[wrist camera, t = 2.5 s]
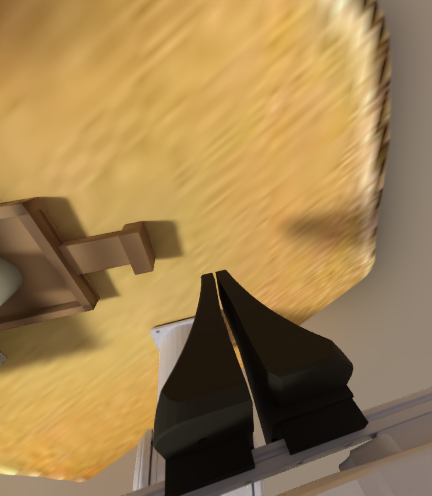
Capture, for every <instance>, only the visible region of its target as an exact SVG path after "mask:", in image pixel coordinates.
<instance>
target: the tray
mask: <svg viewBox="0 0 432 496" xmlns="http://www.w3.org/2000/svg"><path fill="white" fill-rule="evenodd" d="M0 258H2V259H4V260H6V261H8V262H10V263H11V264H13V265H14V266H15V267H16V268H17V269H18V270H19V271H20V273H21V275H22V278H23V283H22V286H21V287H20V288H19V289H18V290H17V291H16V292H15V293H14V294H13V295H12V296H11V297H10V298H9V299H8V300H7V301H6V302H5V303H3V304H2V305H1V306H0V331H1V330H5V329H10V328H14V327H19V326H23V325H28V324H32V323H37V322H41V321H46V320H50V319H54V318H59V317H63V316H68V315H72V314H77V313H81V312H86V311H90V310H94V308H95V306H96V304H97V302H98V300H99V298H100V297H99V295H98V293H97V292H96V290H95V289H94V287H93V285H92V284H91V282H90V281H89V279H88V277H87V276H86V274H85V273H90V272H95V271H100V270H104V269H109V268H114V267H119V266H124V265H129V264H131V266H132V269H133V271H134V273H135V275H137V274H142V273H147V272H152V271H153V269H154V263H155V255H154V252H153V249H152V246H151V243H150V240H149V238H148V235H147V232H146V229H145V226H144V223H143V221H142V222H136V223H131V224H126V225H124V227H123V229H122V230H121V231H117V232H111V233H106V234H101V235H95V236H90V237H84V238H79V239H74V240H69V241H65V240H64V239H63V237H62V235H61V234H60V232H59V231H58V229H57V227H56V226H55V224H54V223H53V221H52V219H51V218H50V216H49V214H48V213H47V211H46V210H45V208H44V206H43V205H42V203H41V202H40V200H39V198H38V197H34V198H28V199H22V200H16V201H10V202H4V203H0Z"/></svg>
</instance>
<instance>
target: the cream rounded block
mask: <svg viewBox="0 0 432 496" xmlns="http://www.w3.org/2000/svg"><path fill="white" fill-rule="evenodd" d="M22 283H23V278H22V275H21V273H20V271H19V270H18V269H17V268H16V267H15V266H14V265H13V264H11V263H10V262H8V261H6V260H4V259H2V258H0V306H1V305H2V304H3V303H5V302H6V301H7V300H8V299H9V298H10V297H11V296H12V295H13V294H14V293H15V292H16V291H17V290H18V289H19V288H20V287H21V286H22Z"/></svg>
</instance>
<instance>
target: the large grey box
mask: <svg viewBox="0 0 432 496" xmlns="http://www.w3.org/2000/svg"><path fill="white" fill-rule="evenodd" d="M6 358H7V357H6V356H4V355H3V354H2V353H1V352H0V366H1V365H2V364H3V362H4V361H5V360H6Z"/></svg>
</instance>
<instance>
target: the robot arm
mask: <svg viewBox="0 0 432 496" xmlns="http://www.w3.org/2000/svg"><path fill="white" fill-rule="evenodd" d="M216 278H217V284H218V291H219V296H220V300H221V304H222V307H223V311H224V313H225V316H226V318H227V321H228V323H229V326H230V328H231V331H232V333H233V336H234V338H235V341H236V343H237V346H238V349H239V352H240V355H241V358H242V362H243V365H244V368H245V371H246V375H247V378H248V382H249V385H250V389H251V392H252V395H253V399H254V403H255V406H256V410H257V413H258V417H259V420H260V424H261V428H262V431H263V435H264V438H265V442H266V445H264V446H261V447H258V446H257V443H256V439H255V436H254V434H253V432H254V423H253V403H252V400H251V396H250V393H249V390H248V386H247V383H246V381H245V378H244V375H243V373H242V370H241V367H240V365H239V362H238V359H237V357H236V354H235V351H234V348H233V345H232V342H231V338H230V335H229V334H228V331H227V328H226V325H225V322H224V319H223V314H222V312H221V309H220V305H219V300H218V294H217V289H216V283H215V279H214V276H213V274H212V273H209V274H204V275H202V276H201V292H200V298H199V303H198V307H197V311H196V315H195V317H194V318H190V319H186V320H182V321H178V322H174V323H170V324H166V325H162V326H159V327H155V328H152V329H151V330H150V334H151V336H152V338H153V340H154V342H155V344H156V346H157V348H158V350H159V352H160V357H159V376H158V396H157V409H156V415H155V422H154V433H153V428H150V429H147V430H146V431H145V434H144V435H143V436H142V438H141V439H140V441H139V445H138V451H137V458H136V466H135V475H134V484H133V492H130V493H127V494H125V495H121V496H263V495H264V479H265V478H268V477H271V476H274V475H276V474H279V473H282V472H284V471H287V470H290V469H292V468H295V467H297V466H300V465H303V464H306V463H308V462H311V461H314V460H316V459H319V458H322V457H325V456H327V455H330V454H333V453H335V452H338V451H340V450H343V449H346V448H349V447H351V446H354V445H357V444H359V443H362V442H365V441H367V440H370V439H372V440H371V441H368V442H366V443H365V444H363V445H361V446H359V447H357V448H355V449H353V450H351V451H350V456H349V457H348V458H347V459H346V460H345V461H344V462H343V463H341V464H340V465H339V469H340V471H341V472H338V473H335V474H332V475H329V476H326V477H323V478H321V479H318V480H315V481H312V482H310V483H307V484H304V485H302V486H300V487H297V488H294V489H292V490H289V491H287V492H284V493H282V494H279V495H277V496H432V387H429V388H426V389H424V390H421V391H418V392H415V393H412V394H409V395H407V396H404V397H401V398H398V399H395V400H392V401H389V402H387V403H384V404H381V405H378V406H375V407H372V408H370V409H367V410H364V411H360V409H359V408H358V406H357V405H356V403H355V402H354V401H353V399H352V398H353V393H352V392H351V391H350V389H349V388H348V386H347V383H348V381H349V379H350V377H351V375H352V372H353V365H352V363H351V362H350V360H349V359H348V358H347V357H346V356H345V355H344V353H343V352H342V351H341V350H340V349H339V348H338V347H337V346H336V345H335V344H334V343H333V342H332V341H331V340H329V339H327V338H325V337H322V336H320V335H317V334H315V333H313V332H310V331H308V330H306V329H304V328H302V327H300V326H298V325H296V324H294V323H292V322H291V321H289V320H287V319H285V318H283V317H282V316H280V315H278V314H277V313H275V312H274V311H272V310H271V309H269V308H268V307H266V306H265V305H263V304H262V303H261V302H259V301H258V300H257V299H255V298H254V297H253V296H252V295H251V294H249V293H248V292H247V291H246V290H245V289H244V288H243V287H242V286H241V285H240V284H239V283H238V282H237V281H236V280H235V279H234V278H233V277H232V276H231V275H230V274H229V273H228V271H227V270H222V271H217V272H216Z"/></svg>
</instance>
